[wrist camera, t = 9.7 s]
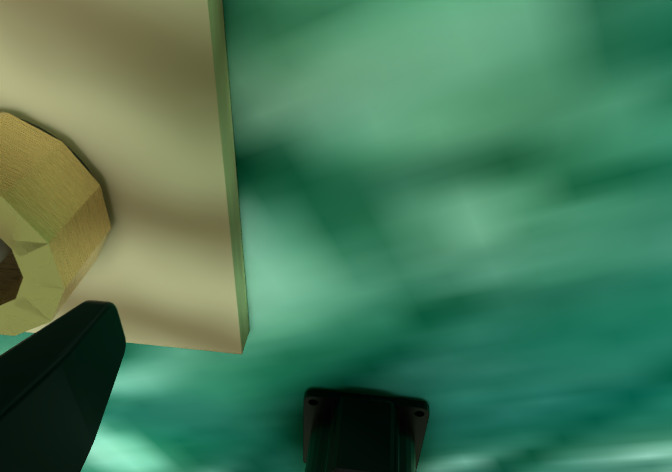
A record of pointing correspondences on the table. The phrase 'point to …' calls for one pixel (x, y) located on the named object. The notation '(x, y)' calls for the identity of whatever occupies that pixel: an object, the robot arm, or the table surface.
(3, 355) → the robot arm
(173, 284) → the stand
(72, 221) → the ring
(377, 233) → the table surface
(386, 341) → the table surface
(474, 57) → the table surface
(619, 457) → the table surface
